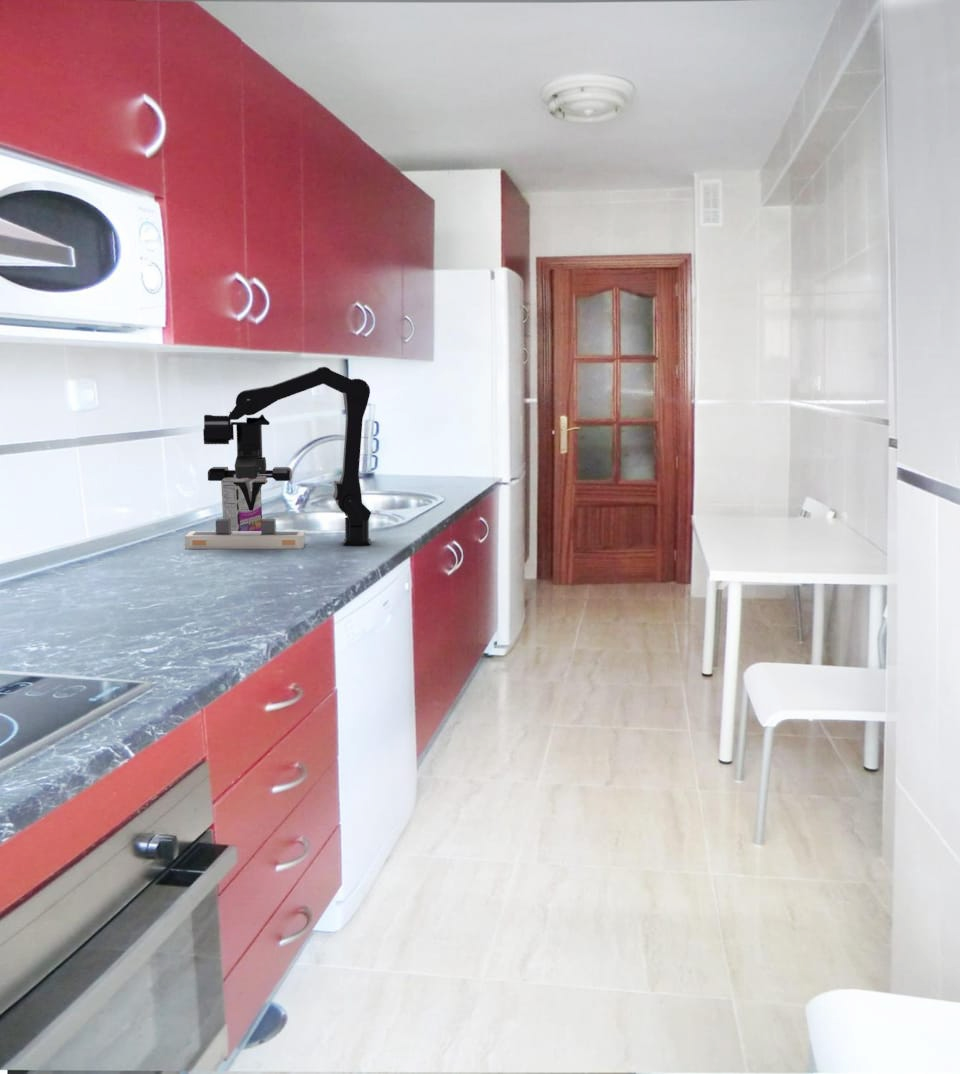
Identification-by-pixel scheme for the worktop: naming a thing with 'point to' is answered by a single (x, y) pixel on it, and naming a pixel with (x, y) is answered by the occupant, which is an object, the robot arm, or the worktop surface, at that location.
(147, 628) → the worktop surface
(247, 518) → the candy bar box
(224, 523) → the outer tab
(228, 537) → the switch bank
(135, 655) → the worktop surface
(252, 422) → the robot arm
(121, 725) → the worktop surface
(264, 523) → the inner tab
